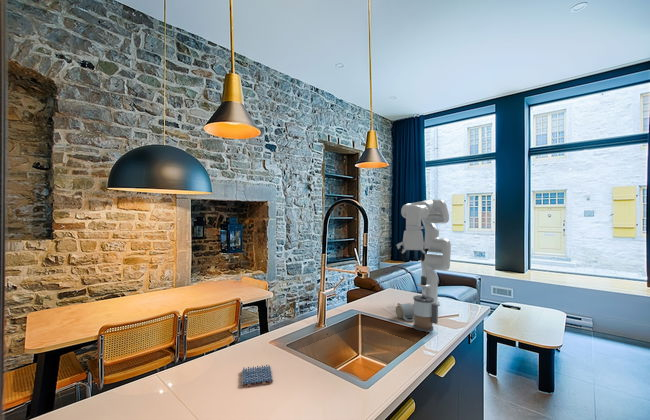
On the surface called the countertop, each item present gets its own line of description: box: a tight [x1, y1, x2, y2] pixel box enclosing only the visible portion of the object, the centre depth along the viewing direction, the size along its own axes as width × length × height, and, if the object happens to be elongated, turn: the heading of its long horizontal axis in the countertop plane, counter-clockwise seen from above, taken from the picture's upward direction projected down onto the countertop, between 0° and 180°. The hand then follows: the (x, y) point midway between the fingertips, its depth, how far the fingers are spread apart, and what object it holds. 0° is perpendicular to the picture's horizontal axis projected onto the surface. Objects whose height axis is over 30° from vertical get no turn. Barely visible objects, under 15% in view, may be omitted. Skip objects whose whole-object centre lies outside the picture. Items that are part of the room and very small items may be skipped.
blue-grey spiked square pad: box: [240, 364, 274, 389], centre depth 100 cm, size 10×11×2 cm
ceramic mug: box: [395, 302, 414, 323], centre depth 160 cm, size 11×8×8 cm
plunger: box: [417, 275, 430, 299], centre depth 147 cm, size 6×6×13 cm
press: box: [412, 294, 439, 332], centre depth 147 cm, size 10×12×15 cm
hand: (413, 260), depth 155 cm, fingers open, 9 cm apart
